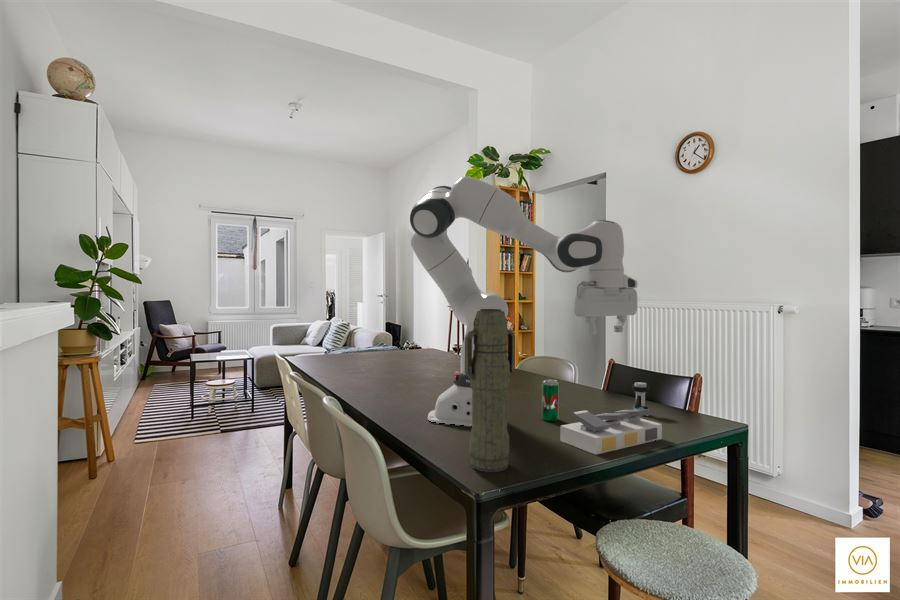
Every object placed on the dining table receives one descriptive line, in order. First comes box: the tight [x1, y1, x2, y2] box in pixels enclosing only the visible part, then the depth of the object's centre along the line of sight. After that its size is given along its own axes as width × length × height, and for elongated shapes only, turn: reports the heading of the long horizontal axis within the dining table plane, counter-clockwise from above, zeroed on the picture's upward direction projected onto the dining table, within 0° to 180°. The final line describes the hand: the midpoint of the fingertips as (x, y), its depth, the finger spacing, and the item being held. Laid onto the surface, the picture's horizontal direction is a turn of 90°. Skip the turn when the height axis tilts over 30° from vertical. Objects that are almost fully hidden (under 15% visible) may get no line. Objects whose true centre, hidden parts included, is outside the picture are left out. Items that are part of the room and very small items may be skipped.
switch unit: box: [559, 416, 663, 455], centre depth 123 cm, size 25×12×5 cm, turn 120°
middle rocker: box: [594, 412, 631, 420], centre depth 123 cm, size 5×8×1 cm, turn 30°
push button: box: [631, 381, 650, 417], centre depth 149 cm, size 7×5×10 cm
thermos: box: [464, 309, 516, 473], centre depth 104 cm, size 9×12×35 cm
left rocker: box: [571, 409, 609, 432], centre depth 119 cm, size 5×8×1 cm, turn 30°
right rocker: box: [613, 408, 652, 417], centre depth 127 cm, size 5×8×1 cm, turn 30°
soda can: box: [541, 378, 560, 422], centre depth 142 cm, size 5×5×12 cm
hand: (606, 332), depth 125 cm, fingers open, 8 cm apart
